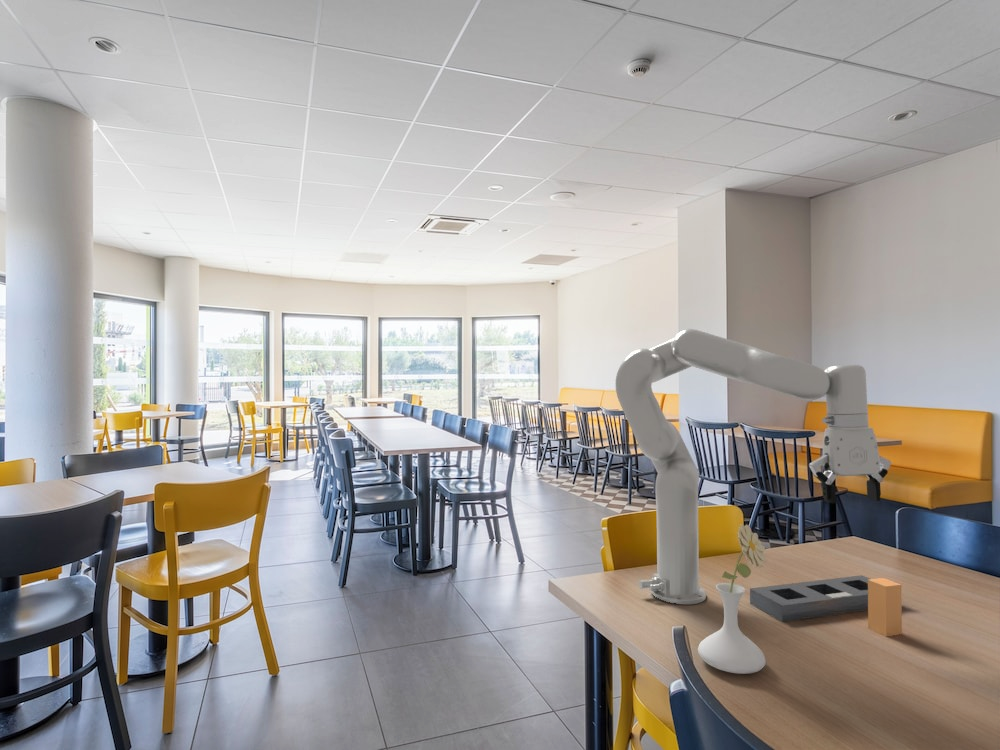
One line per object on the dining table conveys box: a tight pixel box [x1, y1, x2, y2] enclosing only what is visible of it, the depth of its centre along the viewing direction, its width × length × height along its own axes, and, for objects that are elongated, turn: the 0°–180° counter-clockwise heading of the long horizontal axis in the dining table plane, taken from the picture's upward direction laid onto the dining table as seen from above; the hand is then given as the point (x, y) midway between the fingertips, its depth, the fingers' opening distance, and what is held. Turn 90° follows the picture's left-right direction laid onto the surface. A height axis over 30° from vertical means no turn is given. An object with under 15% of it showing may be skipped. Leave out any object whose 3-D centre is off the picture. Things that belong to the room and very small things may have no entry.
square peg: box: [867, 577, 903, 638], centre depth 114 cm, size 4×4×10 cm
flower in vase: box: [697, 523, 768, 675], centre depth 101 cm, size 13×11×25 cm
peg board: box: [749, 574, 871, 623], centre depth 127 cm, size 32×10×4 cm, turn 105°
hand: (851, 501), depth 120 cm, fingers open, 9 cm apart
